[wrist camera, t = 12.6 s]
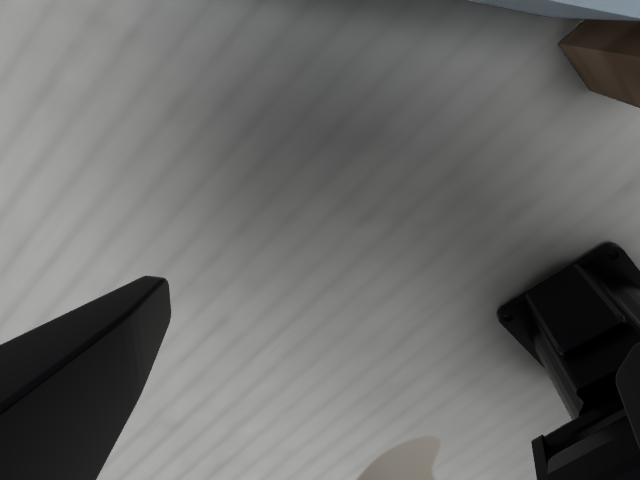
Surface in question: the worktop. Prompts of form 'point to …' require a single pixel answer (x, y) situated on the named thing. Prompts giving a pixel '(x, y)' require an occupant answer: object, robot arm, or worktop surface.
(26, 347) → the robot arm
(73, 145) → the worktop surface
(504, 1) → the door
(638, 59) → the door frame
